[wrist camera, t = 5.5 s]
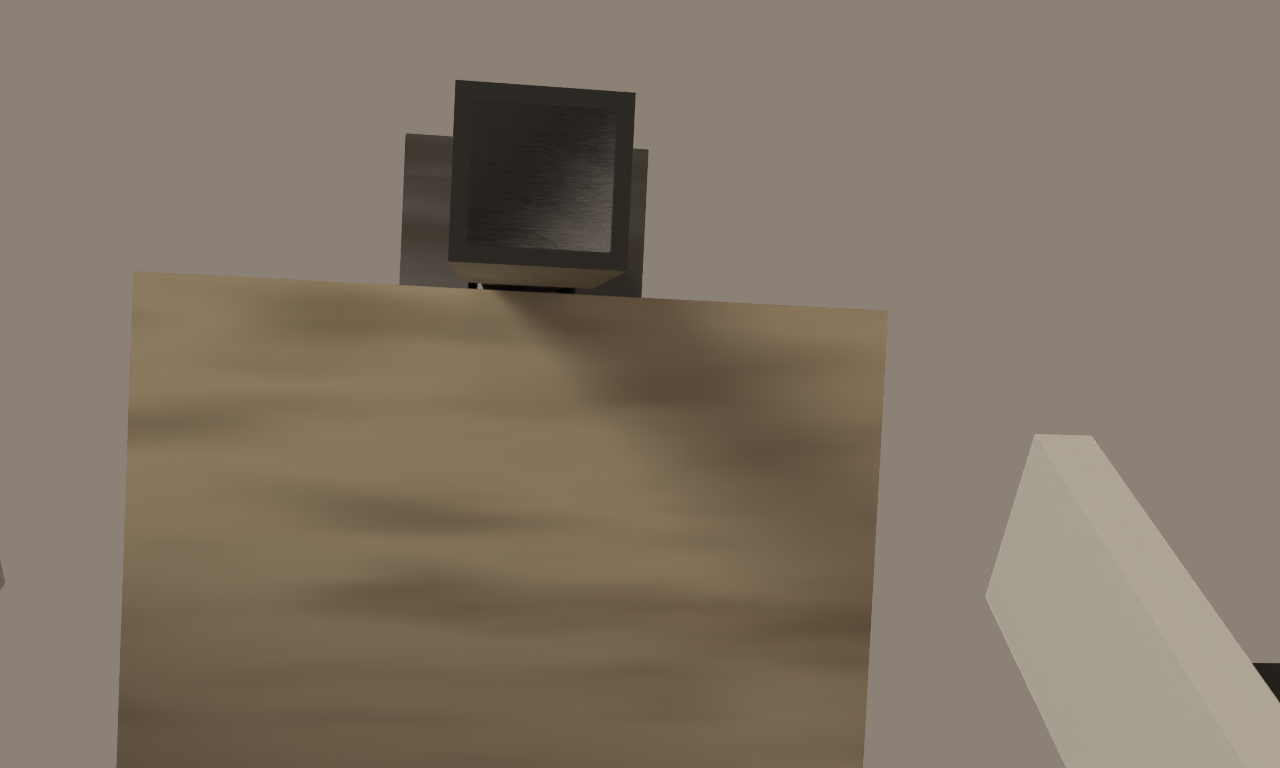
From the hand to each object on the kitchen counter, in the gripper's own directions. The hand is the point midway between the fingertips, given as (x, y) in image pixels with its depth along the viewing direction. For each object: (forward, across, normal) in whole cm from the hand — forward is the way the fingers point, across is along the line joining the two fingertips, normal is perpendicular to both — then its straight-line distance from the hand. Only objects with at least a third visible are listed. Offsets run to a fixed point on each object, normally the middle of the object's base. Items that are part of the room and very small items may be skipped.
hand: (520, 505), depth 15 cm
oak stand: (+9, 0, +39) cm, 40 cm away
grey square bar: (+19, 0, +7) cm, 20 cm away
